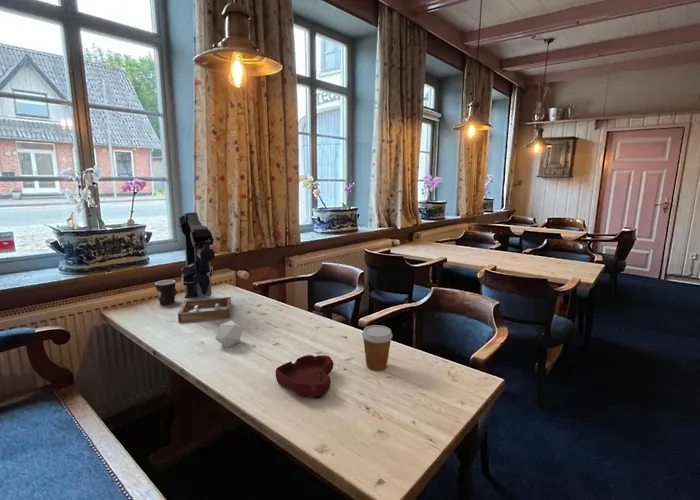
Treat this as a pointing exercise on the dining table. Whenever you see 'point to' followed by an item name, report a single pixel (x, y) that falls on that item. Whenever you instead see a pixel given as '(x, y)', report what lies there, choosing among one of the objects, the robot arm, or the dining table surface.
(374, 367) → the disposable coffee cup
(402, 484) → the dining table surface
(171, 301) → the coffee mug
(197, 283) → the grey block
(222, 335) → the die
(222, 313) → the wooden serving tray
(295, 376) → the ashtray
